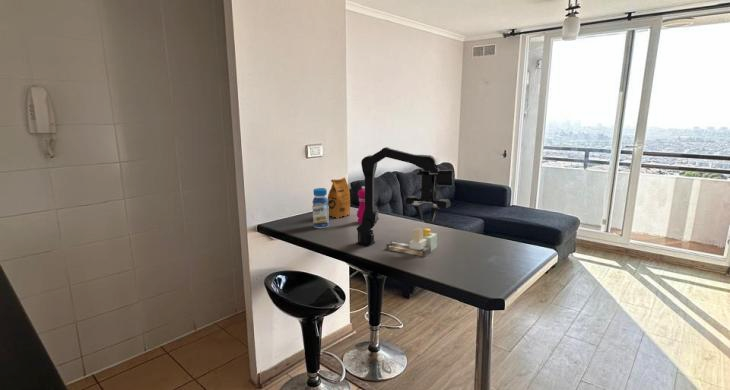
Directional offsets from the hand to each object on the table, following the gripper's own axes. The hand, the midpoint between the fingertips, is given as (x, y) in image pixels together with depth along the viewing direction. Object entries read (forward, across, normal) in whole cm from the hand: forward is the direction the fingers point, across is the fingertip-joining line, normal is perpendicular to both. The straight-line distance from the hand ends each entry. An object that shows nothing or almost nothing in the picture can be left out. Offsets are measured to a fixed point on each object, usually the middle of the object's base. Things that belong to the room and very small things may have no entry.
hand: (426, 221), depth 167 cm
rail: (+12, +5, +8) cm, 15 cm away
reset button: (+9, 0, 0) cm, 9 cm away
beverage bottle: (+12, +61, -4) cm, 62 cm away
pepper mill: (+12, +46, -22) cm, 52 cm away
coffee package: (+12, +66, -26) cm, 72 cm away
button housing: (+12, 0, 0) cm, 12 cm away
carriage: (+9, 0, +8) cm, 12 cm away
